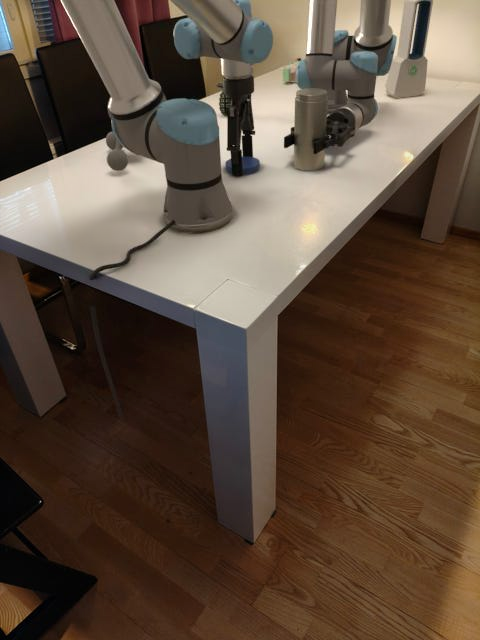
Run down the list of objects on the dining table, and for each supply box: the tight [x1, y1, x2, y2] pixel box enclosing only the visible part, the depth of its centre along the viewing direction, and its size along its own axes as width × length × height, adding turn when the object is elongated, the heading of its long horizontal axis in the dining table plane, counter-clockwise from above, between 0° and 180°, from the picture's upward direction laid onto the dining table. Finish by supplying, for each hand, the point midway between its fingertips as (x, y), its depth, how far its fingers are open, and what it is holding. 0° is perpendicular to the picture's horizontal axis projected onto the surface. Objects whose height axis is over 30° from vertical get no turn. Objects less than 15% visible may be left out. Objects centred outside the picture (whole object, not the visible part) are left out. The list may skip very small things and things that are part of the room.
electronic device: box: [384, 0, 434, 99], centre depth 170 cm, size 12×8×30 cm, turn 105°
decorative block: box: [282, 58, 305, 84], centre depth 205 cm, size 26×6×20 cm
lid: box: [224, 155, 261, 176], centre depth 129 cm, size 9×9×2 cm
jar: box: [293, 88, 328, 171], centre depth 124 cm, size 8×8×18 cm
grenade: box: [215, 82, 231, 117], centre depth 166 cm, size 7×6×10 cm
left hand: (242, 167), depth 129 cm, fingers open, 10 cm apart
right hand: (299, 145), depth 122 cm, fingers closed on jar, 8 cm apart
